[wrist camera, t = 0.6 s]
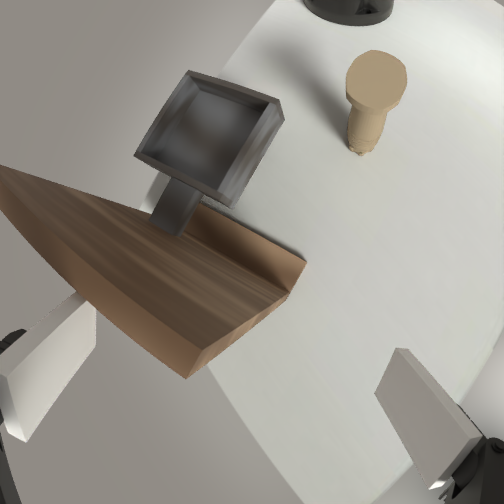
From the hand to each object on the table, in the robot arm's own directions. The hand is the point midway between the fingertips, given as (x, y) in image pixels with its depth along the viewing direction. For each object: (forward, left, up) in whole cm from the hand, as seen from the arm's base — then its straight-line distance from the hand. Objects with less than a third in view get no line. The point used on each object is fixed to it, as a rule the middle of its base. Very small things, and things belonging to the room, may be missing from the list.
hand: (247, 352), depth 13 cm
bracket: (-8, -10, -24) cm, 27 cm away
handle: (-21, -2, -24) cm, 32 cm away
